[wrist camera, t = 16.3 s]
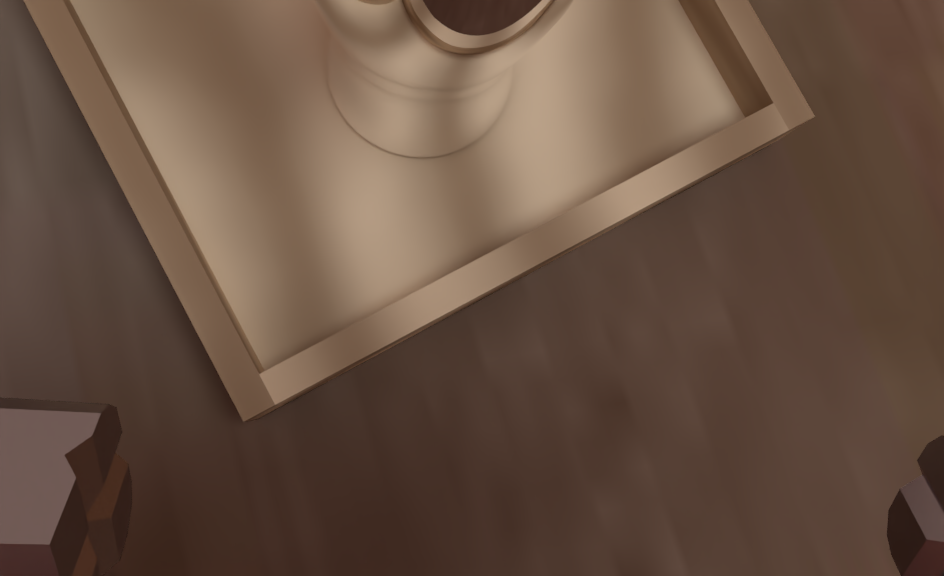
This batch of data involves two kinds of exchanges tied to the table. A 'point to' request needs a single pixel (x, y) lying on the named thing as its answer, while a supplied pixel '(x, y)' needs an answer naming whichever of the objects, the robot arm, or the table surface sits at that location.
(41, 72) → the table surface
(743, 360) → the table surface
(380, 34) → the beer glass
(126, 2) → the tray
